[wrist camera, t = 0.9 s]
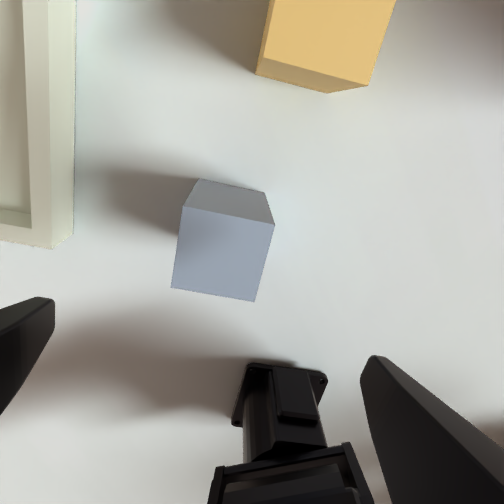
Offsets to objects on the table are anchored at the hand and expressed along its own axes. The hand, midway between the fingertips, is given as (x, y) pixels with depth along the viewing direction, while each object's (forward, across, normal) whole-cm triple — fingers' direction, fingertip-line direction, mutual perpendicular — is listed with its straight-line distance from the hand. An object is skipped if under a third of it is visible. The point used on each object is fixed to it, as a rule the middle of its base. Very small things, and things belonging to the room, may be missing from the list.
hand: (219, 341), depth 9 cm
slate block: (+12, 0, 0) cm, 12 cm away
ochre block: (+12, -2, -10) cm, 16 cm away
